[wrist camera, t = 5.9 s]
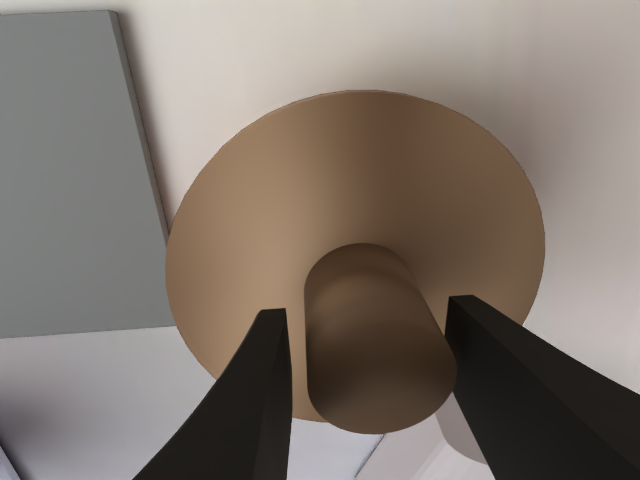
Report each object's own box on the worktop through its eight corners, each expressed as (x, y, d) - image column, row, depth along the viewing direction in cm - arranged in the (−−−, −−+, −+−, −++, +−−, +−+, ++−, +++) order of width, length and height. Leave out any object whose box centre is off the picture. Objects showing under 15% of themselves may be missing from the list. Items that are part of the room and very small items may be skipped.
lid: (211, 417, 14) (179, 551, 10) (127, 106, 10) (14, 141, 6) (503, 390, 15) (578, 510, 11) (563, 74, 10) (738, 85, 6)
